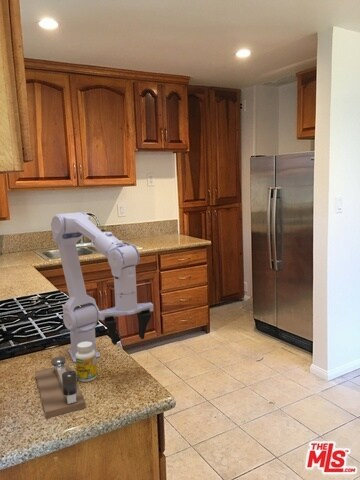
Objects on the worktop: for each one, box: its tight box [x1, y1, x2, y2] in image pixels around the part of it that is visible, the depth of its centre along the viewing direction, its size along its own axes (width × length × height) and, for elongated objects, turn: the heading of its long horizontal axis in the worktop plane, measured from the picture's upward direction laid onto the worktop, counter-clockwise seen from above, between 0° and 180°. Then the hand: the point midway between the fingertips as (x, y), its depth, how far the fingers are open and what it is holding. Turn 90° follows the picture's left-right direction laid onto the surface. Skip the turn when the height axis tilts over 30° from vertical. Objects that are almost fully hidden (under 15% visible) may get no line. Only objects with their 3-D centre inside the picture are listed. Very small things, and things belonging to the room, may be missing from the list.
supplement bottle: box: [75, 341, 98, 383], centre depth 106 cm, size 5×5×10 cm
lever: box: [51, 356, 78, 404], centre depth 100 cm, size 20×4×6 cm, turn 26°
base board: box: [34, 363, 87, 419], centre depth 100 cm, size 22×9×2 cm, turn 26°
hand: (128, 340), depth 105 cm, fingers open, 7 cm apart
